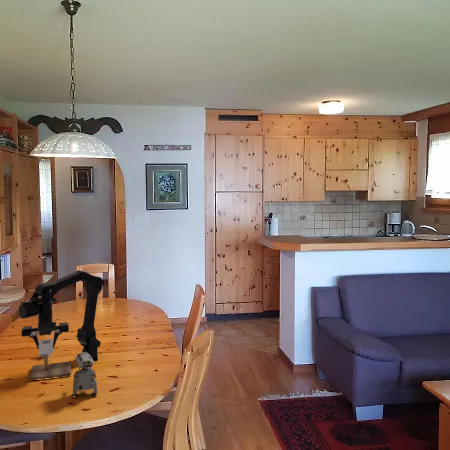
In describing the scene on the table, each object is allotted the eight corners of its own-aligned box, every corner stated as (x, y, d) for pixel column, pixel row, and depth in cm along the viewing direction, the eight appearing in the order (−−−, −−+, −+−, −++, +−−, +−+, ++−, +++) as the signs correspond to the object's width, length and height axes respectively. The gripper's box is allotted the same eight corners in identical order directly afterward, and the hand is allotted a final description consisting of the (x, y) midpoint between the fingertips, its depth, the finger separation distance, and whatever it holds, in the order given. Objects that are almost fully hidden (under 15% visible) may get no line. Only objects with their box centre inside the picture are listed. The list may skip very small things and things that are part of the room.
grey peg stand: (70, 364, 199) (70, 347, 199) (70, 376, 186) (70, 358, 185) (32, 368, 193) (32, 351, 193) (30, 381, 180) (29, 363, 180)
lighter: (39, 357, 207) (39, 341, 207) (40, 356, 209) (40, 339, 208) (55, 356, 208) (55, 340, 208) (56, 355, 210) (55, 339, 210)
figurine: (98, 385, 177) (97, 349, 176) (96, 398, 166) (95, 360, 165) (74, 387, 175) (74, 351, 174) (71, 400, 164) (70, 362, 163)
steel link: (53, 347, 192) (53, 338, 191) (53, 353, 185) (52, 343, 185) (39, 349, 190) (39, 340, 189) (38, 354, 183) (38, 345, 183)
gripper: (19, 320, 175) (21, 358, 176) (68, 316, 182) (69, 352, 183) (21, 313, 186) (22, 349, 187) (68, 309, 192) (68, 343, 194)
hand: (46, 348), depth 187 cm, fingers closed on steel link, 6 cm apart
